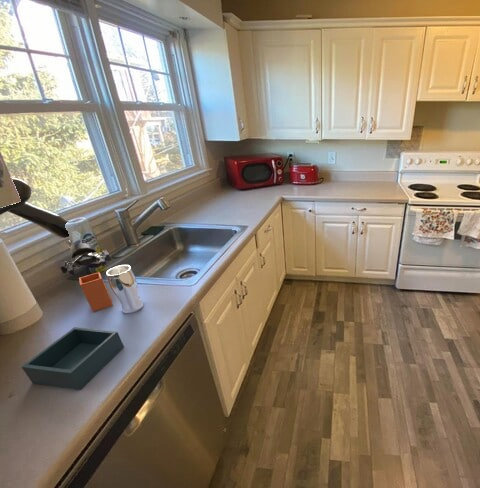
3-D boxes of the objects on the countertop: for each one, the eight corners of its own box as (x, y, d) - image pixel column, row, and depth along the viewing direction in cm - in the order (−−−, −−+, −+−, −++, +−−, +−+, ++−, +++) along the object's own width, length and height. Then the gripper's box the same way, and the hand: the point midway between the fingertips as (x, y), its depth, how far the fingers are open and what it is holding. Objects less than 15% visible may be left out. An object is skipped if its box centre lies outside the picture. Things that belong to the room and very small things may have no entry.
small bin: (92, 312, 93) (80, 284, 89) (91, 304, 97) (78, 277, 92) (113, 305, 97) (101, 278, 92) (110, 298, 100) (99, 271, 96)
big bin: (32, 383, 69) (20, 366, 67) (82, 342, 81) (74, 327, 79) (80, 389, 67) (70, 373, 65) (124, 347, 79) (117, 331, 77)
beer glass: (119, 316, 91) (102, 277, 85) (123, 304, 97) (108, 267, 90) (143, 311, 94) (129, 272, 87) (146, 299, 99) (133, 262, 93)
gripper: (55, 249, 104) (56, 266, 93) (102, 238, 112) (108, 252, 101) (64, 267, 107) (66, 284, 96) (109, 255, 116) (115, 270, 105)
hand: (88, 268), depth 99 cm, fingers open, 8 cm apart
